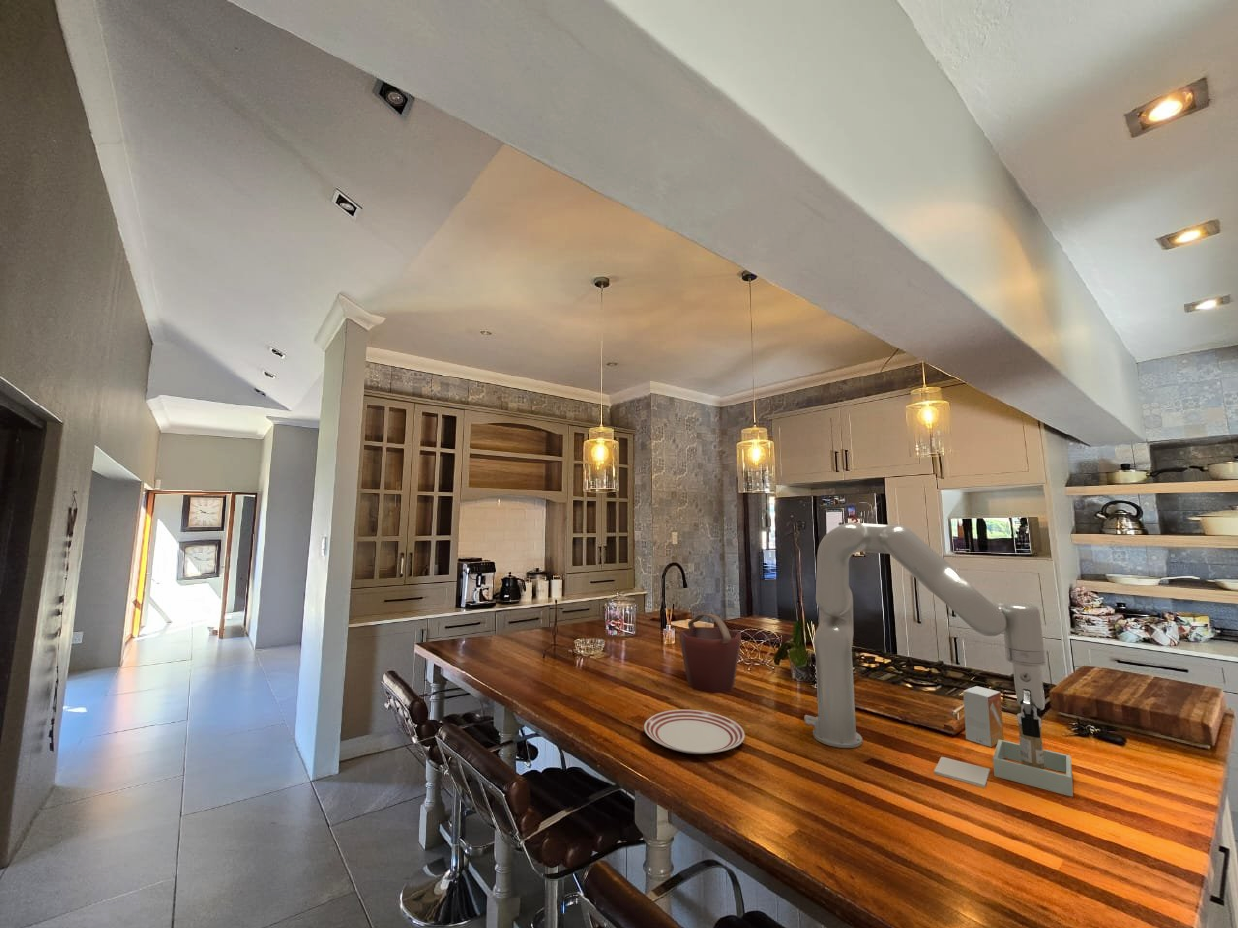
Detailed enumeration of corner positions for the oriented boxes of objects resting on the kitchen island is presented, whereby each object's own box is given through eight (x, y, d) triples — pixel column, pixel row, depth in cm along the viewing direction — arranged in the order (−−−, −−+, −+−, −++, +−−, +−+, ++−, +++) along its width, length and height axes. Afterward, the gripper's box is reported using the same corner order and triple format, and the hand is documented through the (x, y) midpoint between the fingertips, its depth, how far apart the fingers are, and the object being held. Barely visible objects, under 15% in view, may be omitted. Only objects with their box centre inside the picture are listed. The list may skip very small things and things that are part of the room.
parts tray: (994, 775, 122) (992, 758, 123) (999, 755, 133) (998, 739, 133) (1072, 796, 113) (1071, 777, 113) (1072, 773, 124) (1070, 755, 124)
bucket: (675, 675, 199) (674, 609, 202) (731, 674, 202) (729, 608, 205) (691, 697, 175) (690, 622, 178) (754, 695, 178) (752, 620, 180)
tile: (934, 773, 123) (933, 770, 123) (941, 758, 131) (941, 756, 131) (985, 787, 117) (984, 784, 117) (989, 771, 124) (989, 768, 124)
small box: (991, 747, 137) (988, 696, 139) (965, 739, 142) (962, 690, 144) (1004, 740, 142) (1001, 691, 143) (978, 732, 147) (975, 685, 148)
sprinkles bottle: (1049, 780, 120) (1044, 720, 121) (1026, 777, 121) (1021, 717, 123) (1040, 771, 124) (1035, 713, 126) (1017, 768, 126) (1013, 711, 127)
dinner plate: (763, 738, 143) (763, 726, 143) (708, 774, 123) (708, 759, 124) (682, 713, 162) (682, 702, 162) (623, 740, 142) (623, 727, 142)
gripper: (1043, 666, 117) (1052, 745, 115) (1045, 650, 130) (1053, 722, 128) (1002, 660, 122) (1010, 737, 120) (1008, 646, 135) (1015, 715, 133)
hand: (1032, 729), depth 124 cm, fingers open, 9 cm apart
